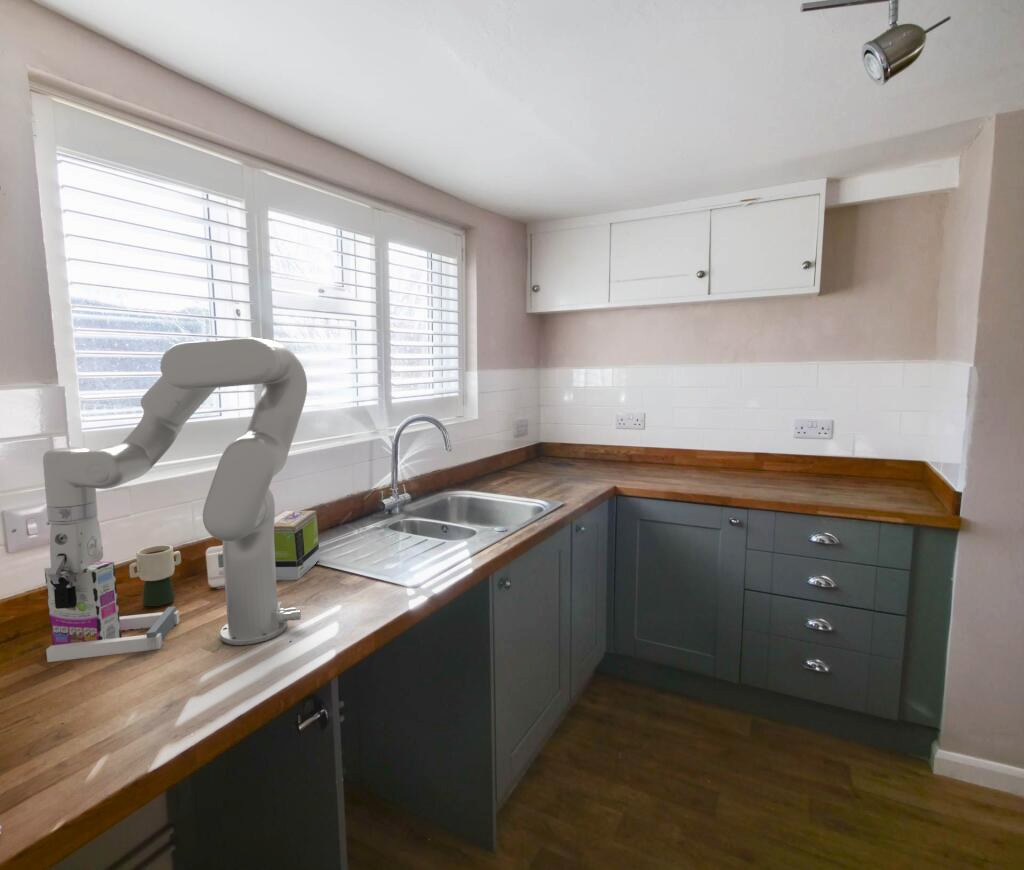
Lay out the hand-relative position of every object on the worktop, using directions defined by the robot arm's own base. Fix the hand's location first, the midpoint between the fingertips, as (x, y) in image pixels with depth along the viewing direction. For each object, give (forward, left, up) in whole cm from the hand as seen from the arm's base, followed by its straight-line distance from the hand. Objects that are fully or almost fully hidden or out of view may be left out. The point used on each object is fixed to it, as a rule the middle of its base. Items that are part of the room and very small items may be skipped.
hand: (79, 597), depth 108 cm
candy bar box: (-1, 0, -10) cm, 10 cm away
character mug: (-8, -17, -10) cm, 21 cm away
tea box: (-35, -32, -10) cm, 48 cm away
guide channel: (-6, 0, -10) cm, 11 cm away
